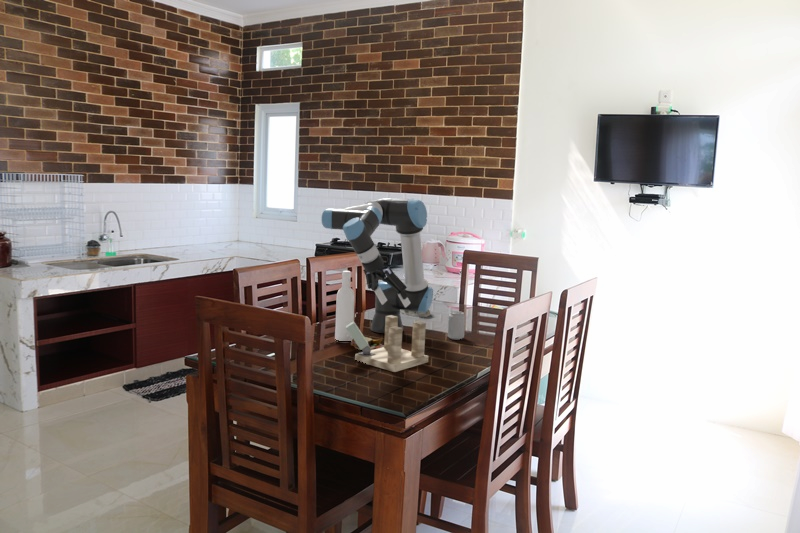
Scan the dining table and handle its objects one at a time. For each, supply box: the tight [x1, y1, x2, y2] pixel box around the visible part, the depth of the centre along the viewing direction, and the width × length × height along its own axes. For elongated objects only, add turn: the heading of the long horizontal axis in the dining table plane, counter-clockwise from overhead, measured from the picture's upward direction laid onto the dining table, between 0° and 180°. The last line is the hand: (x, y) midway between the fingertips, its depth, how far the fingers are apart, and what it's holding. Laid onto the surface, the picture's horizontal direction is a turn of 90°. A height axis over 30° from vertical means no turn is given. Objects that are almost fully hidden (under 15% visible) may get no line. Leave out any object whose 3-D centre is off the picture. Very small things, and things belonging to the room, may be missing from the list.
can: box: [446, 310, 466, 341], centre depth 289 cm, size 8×8×12 cm
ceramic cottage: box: [400, 309, 431, 318], centre depth 339 cm, size 16×16×15 cm
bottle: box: [334, 270, 356, 342], centre depth 274 cm, size 8×8×30 cm
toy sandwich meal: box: [350, 336, 384, 352], centre depth 265 cm, size 12×14×5 cm
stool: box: [354, 315, 429, 373], centre depth 246 cm, size 20×20×16 cm
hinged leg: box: [346, 321, 371, 355], centre depth 244 cm, size 4×4×13 cm
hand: (395, 303), depth 241 cm, fingers open, 13 cm apart
